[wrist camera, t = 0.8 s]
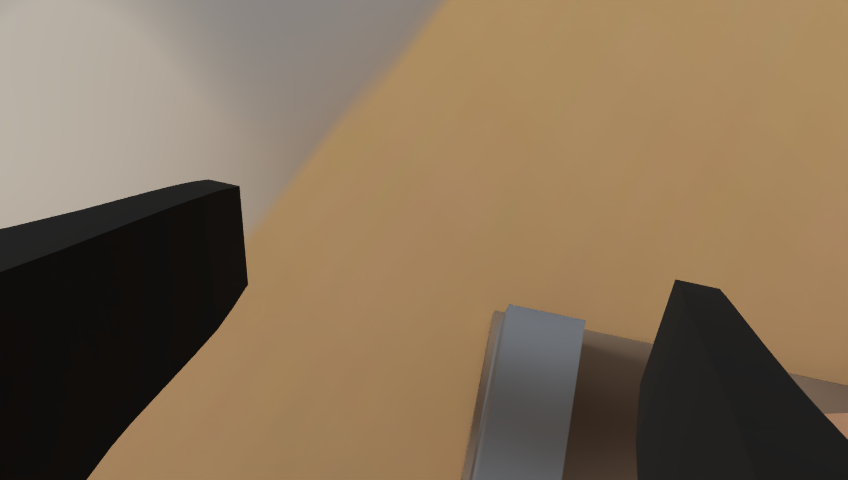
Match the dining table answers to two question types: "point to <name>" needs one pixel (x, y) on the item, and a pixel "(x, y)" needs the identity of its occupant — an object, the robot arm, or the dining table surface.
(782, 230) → the dining table surface
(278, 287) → the dining table surface
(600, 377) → the brown and grey piece
